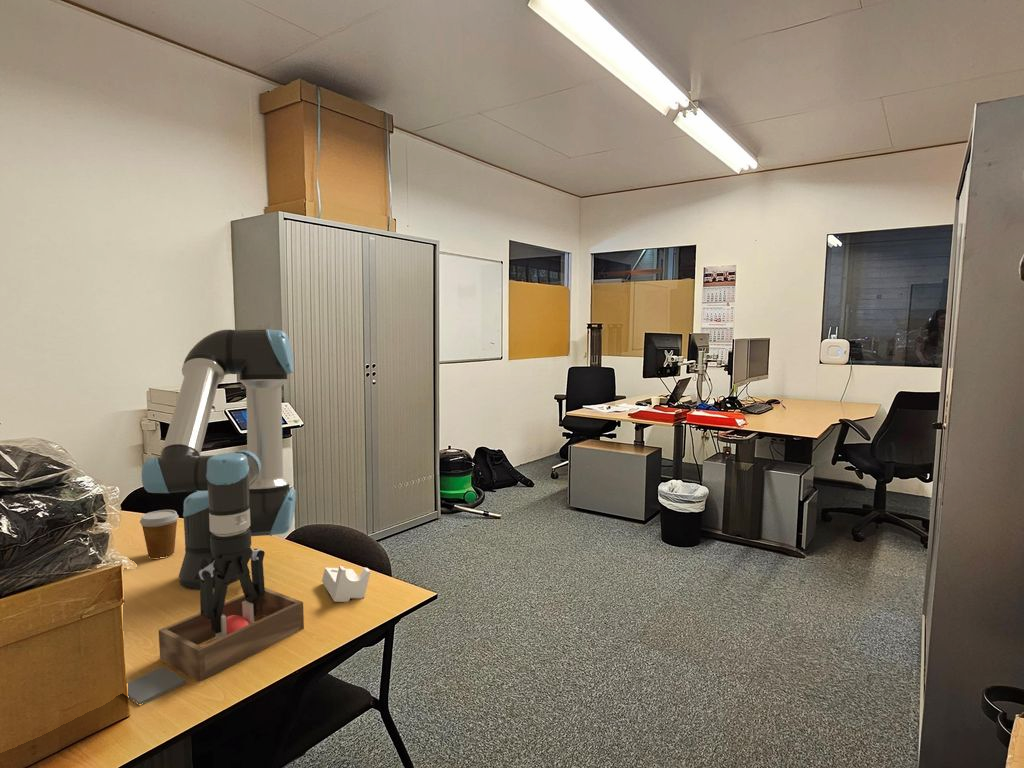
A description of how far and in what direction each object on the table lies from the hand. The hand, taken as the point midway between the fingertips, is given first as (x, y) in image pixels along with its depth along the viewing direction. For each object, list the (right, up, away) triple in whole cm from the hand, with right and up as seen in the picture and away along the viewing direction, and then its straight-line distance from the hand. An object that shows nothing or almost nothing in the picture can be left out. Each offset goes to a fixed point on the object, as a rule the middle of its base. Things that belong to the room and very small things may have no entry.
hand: (235, 638), depth 122 cm
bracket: (+16, +1, +25) cm, 30 cm away
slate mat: (-8, -2, -15) cm, 17 cm away
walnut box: (0, -1, 0) cm, 1 cm away
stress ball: (0, -1, 0) cm, 1 cm away
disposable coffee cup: (-43, +3, +47) cm, 64 cm away
